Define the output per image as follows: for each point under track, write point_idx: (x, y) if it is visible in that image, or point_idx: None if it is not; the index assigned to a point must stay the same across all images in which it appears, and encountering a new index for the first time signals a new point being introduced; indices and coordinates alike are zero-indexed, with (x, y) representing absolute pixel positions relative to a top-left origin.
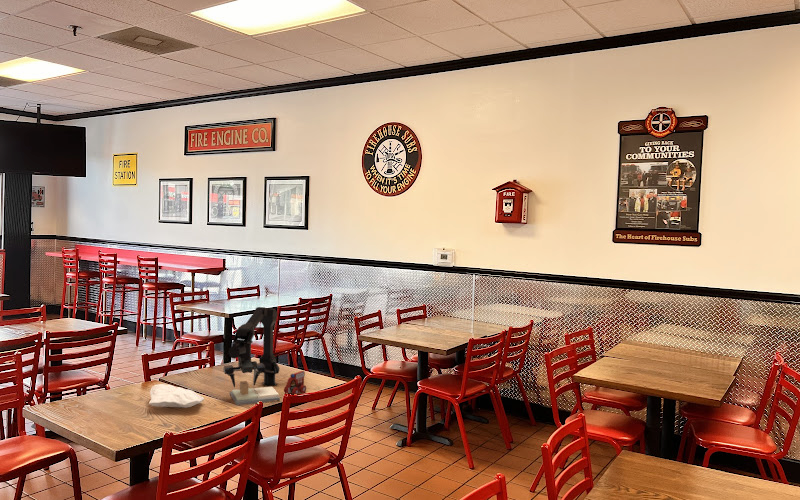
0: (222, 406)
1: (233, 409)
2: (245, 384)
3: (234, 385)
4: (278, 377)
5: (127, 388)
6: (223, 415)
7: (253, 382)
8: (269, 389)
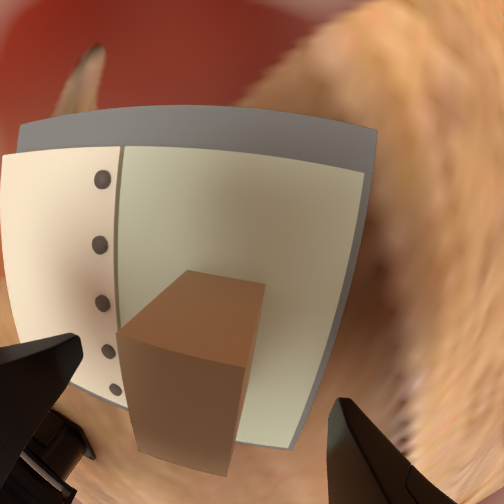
0: (470, 180)
1: (414, 53)
2: (173, 342)
3: (354, 413)
4: None
5: (483, 496)
6: (474, 9)
7: (62, 372)
8: (26, 307)
